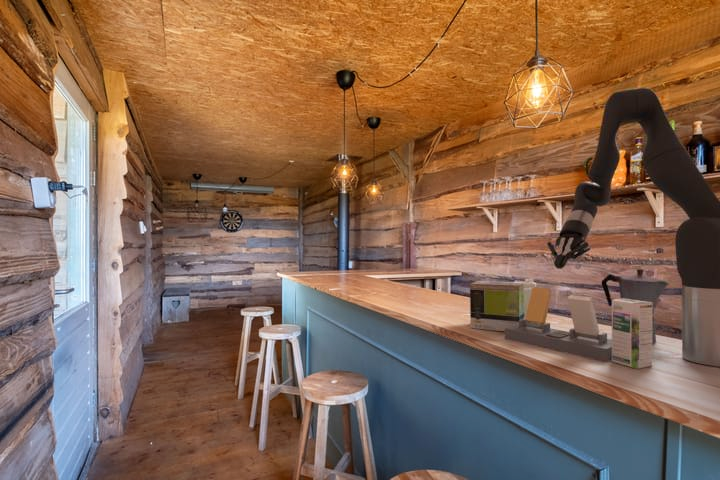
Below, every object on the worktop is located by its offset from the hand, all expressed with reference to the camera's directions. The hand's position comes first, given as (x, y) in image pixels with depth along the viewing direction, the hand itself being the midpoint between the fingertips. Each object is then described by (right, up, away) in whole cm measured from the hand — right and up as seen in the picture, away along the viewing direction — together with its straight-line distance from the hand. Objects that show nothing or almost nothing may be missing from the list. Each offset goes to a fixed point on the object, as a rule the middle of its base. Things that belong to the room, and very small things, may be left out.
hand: (558, 266), depth 114 cm
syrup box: (+1, -20, -29) cm, 35 cm away
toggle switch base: (-7, -20, -14) cm, 26 cm away
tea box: (-16, -20, +7) cm, 27 cm away
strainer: (-4, -20, +13) cm, 24 cm away
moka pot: (+17, -20, -9) cm, 28 cm away
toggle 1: (-11, -16, -8) cm, 21 cm away
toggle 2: (-3, -16, -20) cm, 25 cm away
